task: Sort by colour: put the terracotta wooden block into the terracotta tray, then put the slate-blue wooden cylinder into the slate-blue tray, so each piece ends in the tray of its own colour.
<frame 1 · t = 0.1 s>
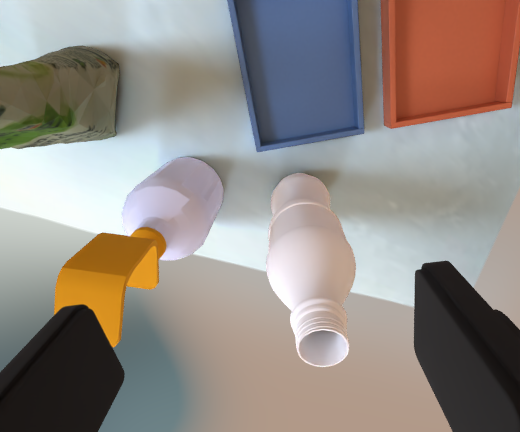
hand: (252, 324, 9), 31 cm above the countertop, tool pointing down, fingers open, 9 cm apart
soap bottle: (190, 189, 41), on the countertop
water bottle: (298, 194, 40), on the countertop
pouch: (89, 100, 37), on the countertop
blue tray: (298, 65, 34), on the countertop
terracotta tray: (442, 35, 32), on the countertop
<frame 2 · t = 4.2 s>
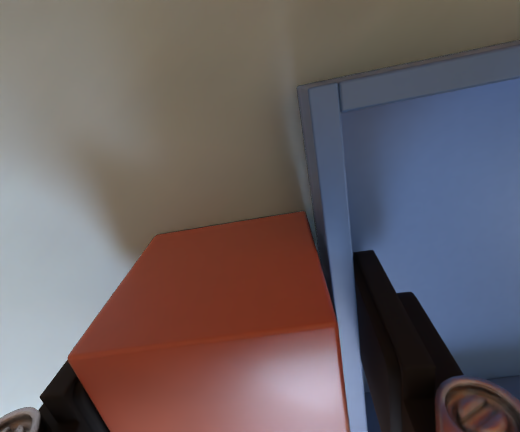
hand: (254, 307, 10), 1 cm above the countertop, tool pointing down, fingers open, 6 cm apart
block: (244, 285, 11), on the countertop, touching gripper
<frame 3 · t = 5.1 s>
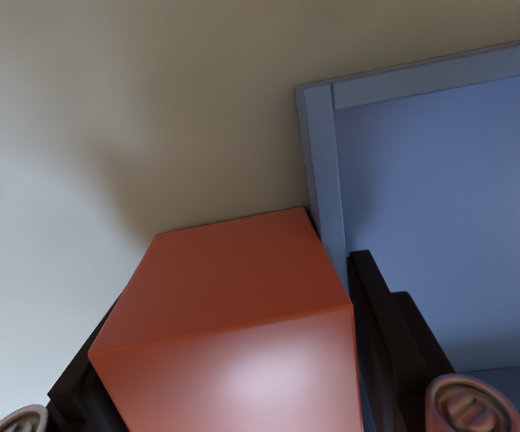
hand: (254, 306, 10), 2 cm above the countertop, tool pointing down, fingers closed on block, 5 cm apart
block: (244, 281, 11), on the countertop, touching blue tray, gripper
when the fingers open (3 cm above the countertop, at t = 10.1 s): block stays where it is, resting on terracotta tray.
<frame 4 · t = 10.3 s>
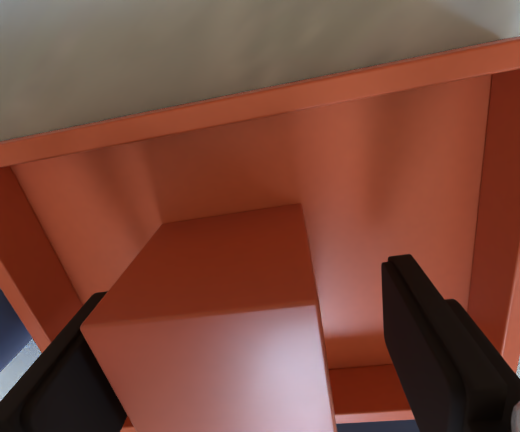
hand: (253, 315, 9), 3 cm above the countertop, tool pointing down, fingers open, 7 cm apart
block: (244, 272, 12), resting on terracotta tray
terracotta tray: (259, 261, 12), on the countertop
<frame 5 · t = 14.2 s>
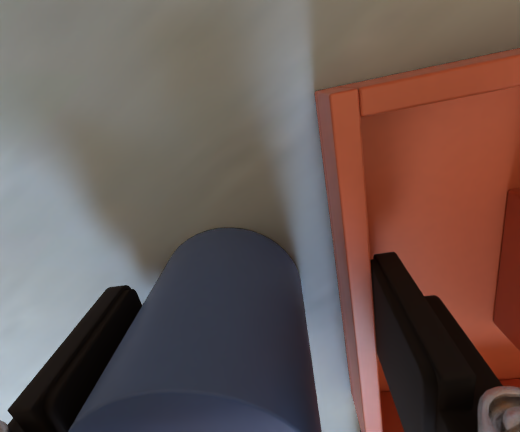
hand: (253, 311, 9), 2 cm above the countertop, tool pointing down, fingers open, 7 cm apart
blue cylinder: (232, 288, 11), on the countertop, touching gripper
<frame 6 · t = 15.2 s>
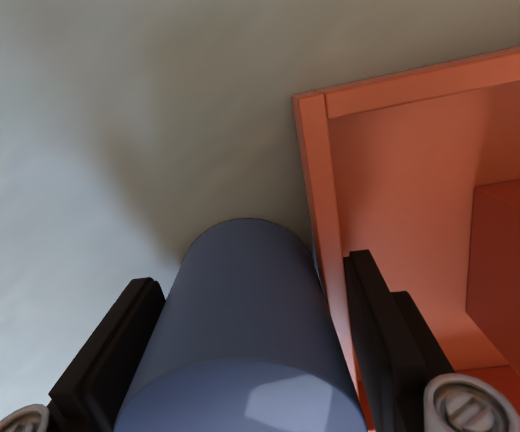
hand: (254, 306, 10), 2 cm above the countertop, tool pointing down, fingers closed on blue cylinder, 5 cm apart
blue cylinder: (248, 279, 12), on the countertop, touching gripper, terracotta tray
when the fingers open (3 cm above the countertop, at t = 20.0 s): blue cylinder stays where it is, resting on blue tray.
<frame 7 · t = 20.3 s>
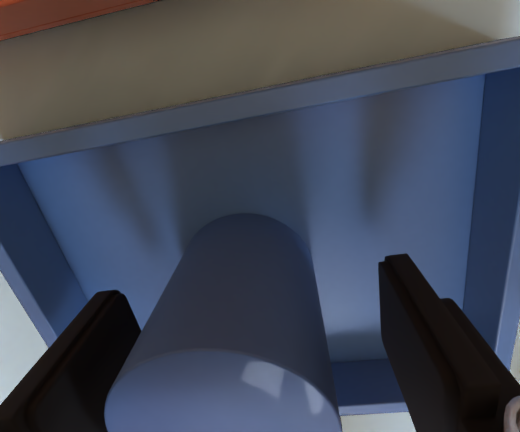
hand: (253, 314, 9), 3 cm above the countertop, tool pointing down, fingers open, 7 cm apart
blue tray: (259, 257, 12), on the countertop
blue cylinder: (248, 271, 12), point 1 cm above the countertop, touching blue tray
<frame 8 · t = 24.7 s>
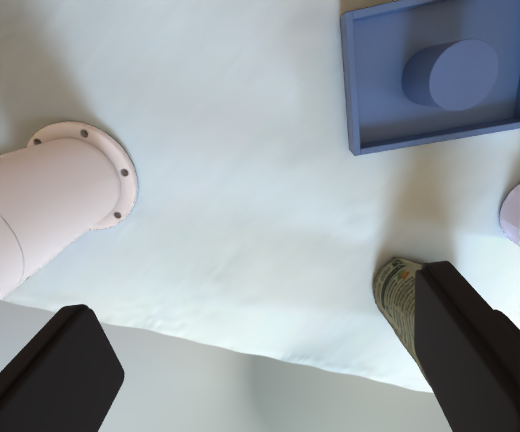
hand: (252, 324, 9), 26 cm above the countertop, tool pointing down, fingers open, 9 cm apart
pouch: (416, 286, 39), on the countertop
blue tray: (431, 72, 29), on the countertop
blue cylinder: (428, 76, 29), resting on blue tray
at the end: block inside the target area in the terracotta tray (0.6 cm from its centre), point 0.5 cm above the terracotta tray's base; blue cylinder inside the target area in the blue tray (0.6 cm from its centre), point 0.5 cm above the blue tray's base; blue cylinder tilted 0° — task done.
